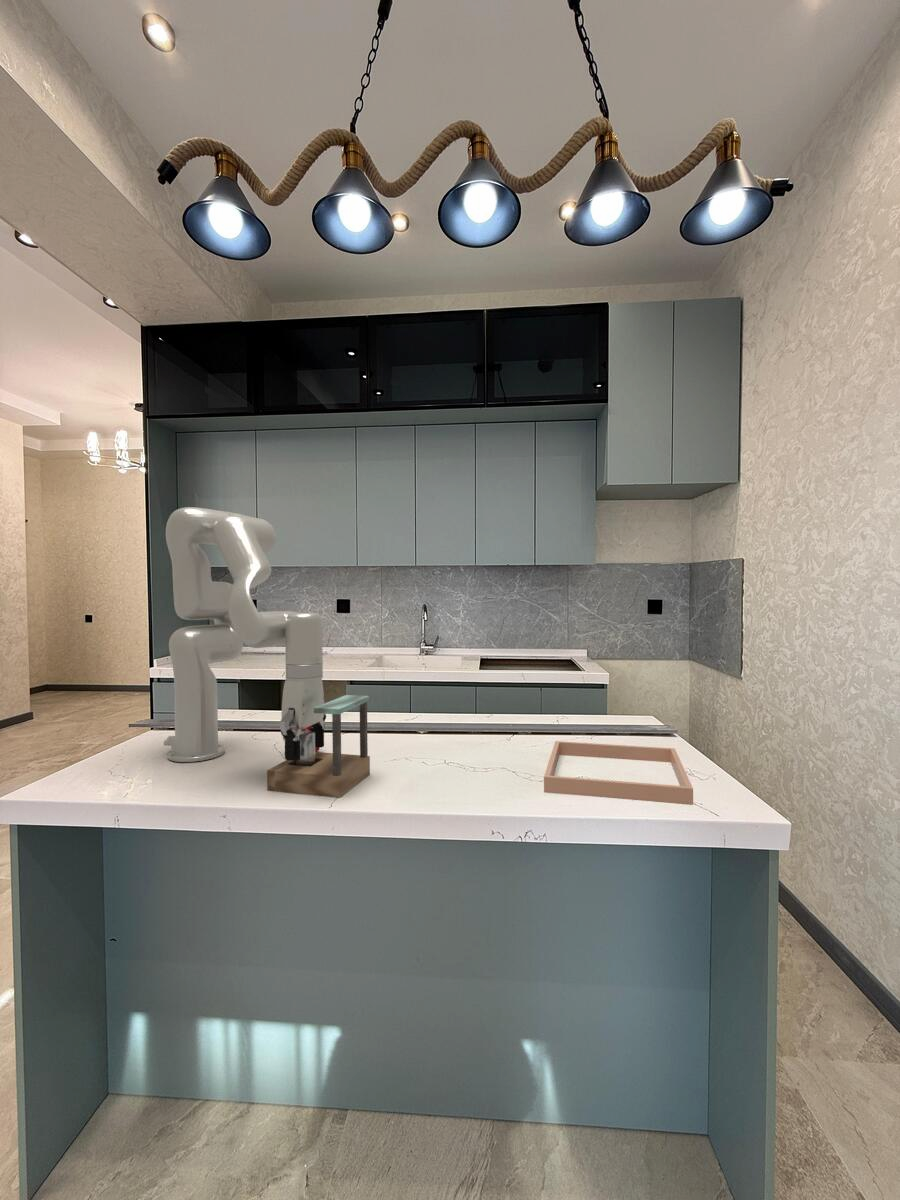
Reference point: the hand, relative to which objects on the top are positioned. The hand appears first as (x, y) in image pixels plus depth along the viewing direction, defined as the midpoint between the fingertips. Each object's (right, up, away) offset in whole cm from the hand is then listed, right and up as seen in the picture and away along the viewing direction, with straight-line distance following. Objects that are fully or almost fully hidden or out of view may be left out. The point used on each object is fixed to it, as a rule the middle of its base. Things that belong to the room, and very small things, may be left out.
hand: (305, 753), depth 116 cm
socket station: (+3, -6, -1) cm, 7 cm away
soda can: (-5, -6, +20) cm, 22 cm away
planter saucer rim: (+65, -5, +2) cm, 66 cm away
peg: (0, -6, 0) cm, 6 cm away
